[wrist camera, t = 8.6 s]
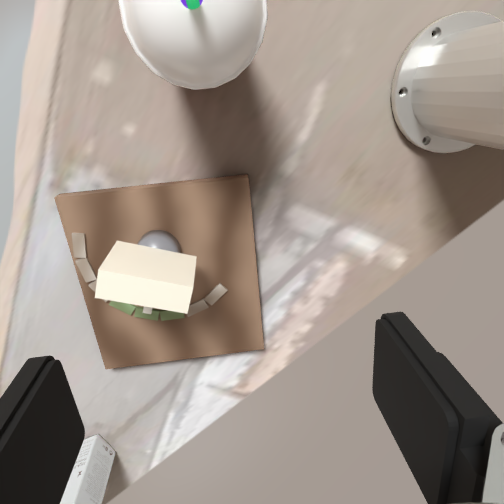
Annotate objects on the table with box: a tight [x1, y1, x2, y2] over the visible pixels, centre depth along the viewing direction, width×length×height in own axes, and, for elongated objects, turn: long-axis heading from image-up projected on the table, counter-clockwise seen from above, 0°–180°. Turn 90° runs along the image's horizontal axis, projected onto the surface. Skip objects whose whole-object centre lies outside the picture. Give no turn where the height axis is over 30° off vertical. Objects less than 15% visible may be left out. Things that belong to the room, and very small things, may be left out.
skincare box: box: [60, 435, 115, 504], centre depth 47 cm, size 6×4×12 cm
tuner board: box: [55, 174, 264, 369], centre depth 42 cm, size 19×21×2 cm
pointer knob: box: [95, 230, 197, 314], centre depth 37 cm, size 10×8×9 cm
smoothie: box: [119, 0, 268, 90], centre depth 25 cm, size 8×8×20 cm
